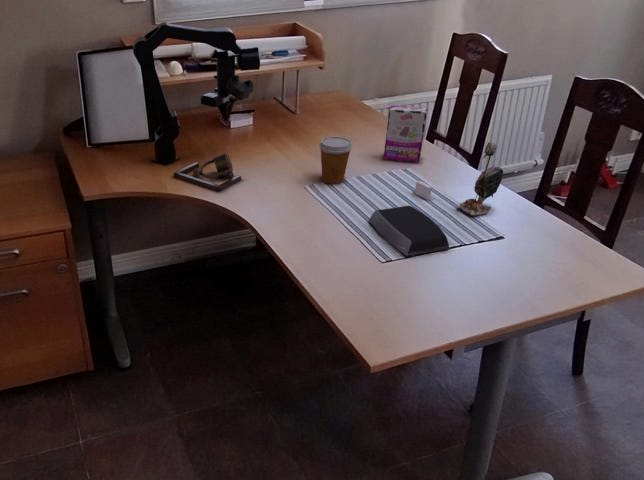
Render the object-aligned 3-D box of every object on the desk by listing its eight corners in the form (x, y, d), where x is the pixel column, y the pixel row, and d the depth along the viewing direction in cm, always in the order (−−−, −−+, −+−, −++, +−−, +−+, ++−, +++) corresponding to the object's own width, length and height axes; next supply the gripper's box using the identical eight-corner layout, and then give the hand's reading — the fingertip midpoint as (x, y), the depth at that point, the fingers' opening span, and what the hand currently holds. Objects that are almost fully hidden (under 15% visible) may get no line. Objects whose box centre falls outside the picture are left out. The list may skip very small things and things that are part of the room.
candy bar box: (420, 157, 202) (428, 107, 193) (419, 163, 198) (427, 112, 189) (384, 154, 206) (391, 104, 197) (382, 159, 202) (389, 109, 193)
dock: (173, 177, 197) (173, 172, 196) (196, 166, 203) (195, 162, 202) (219, 192, 186) (219, 187, 185) (241, 180, 192) (241, 175, 192)
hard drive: (402, 258, 150) (405, 243, 148) (366, 222, 166) (367, 208, 164) (452, 250, 153) (455, 235, 150) (411, 215, 169) (413, 201, 166)
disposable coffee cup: (354, 178, 190) (358, 140, 184) (337, 188, 185) (341, 150, 178) (327, 170, 196) (330, 133, 190) (310, 180, 190) (313, 142, 184)
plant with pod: (504, 212, 168) (523, 140, 158) (468, 218, 166) (484, 146, 155) (484, 199, 175) (501, 130, 164) (449, 206, 172) (463, 135, 162)
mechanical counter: (232, 168, 187) (238, 149, 193) (190, 162, 189) (198, 143, 196) (231, 187, 192) (237, 168, 199) (190, 181, 194) (198, 162, 201)
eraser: (417, 192, 180) (419, 180, 178) (430, 198, 177) (432, 186, 175) (414, 193, 180) (416, 181, 178) (426, 199, 176) (428, 187, 174)
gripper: (227, 82, 185) (227, 133, 193) (264, 68, 196) (263, 117, 204) (198, 77, 191) (200, 126, 199) (236, 63, 202) (236, 111, 211)
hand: (226, 120), depth 203 cm, fingers closed
